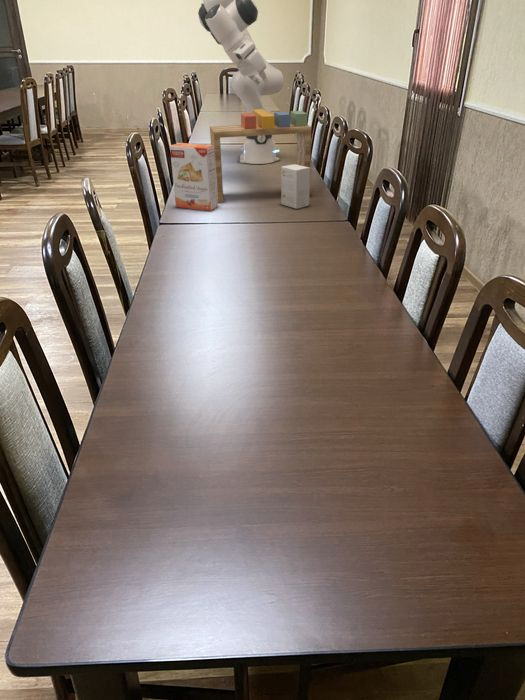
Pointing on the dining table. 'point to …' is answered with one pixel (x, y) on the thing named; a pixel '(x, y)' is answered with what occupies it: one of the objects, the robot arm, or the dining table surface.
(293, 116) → the block
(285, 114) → the block
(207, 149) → the cracker box
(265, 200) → the dining table surface
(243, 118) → the block
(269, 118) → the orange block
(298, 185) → the small box
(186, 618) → the dining table surface
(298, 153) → the shelf
